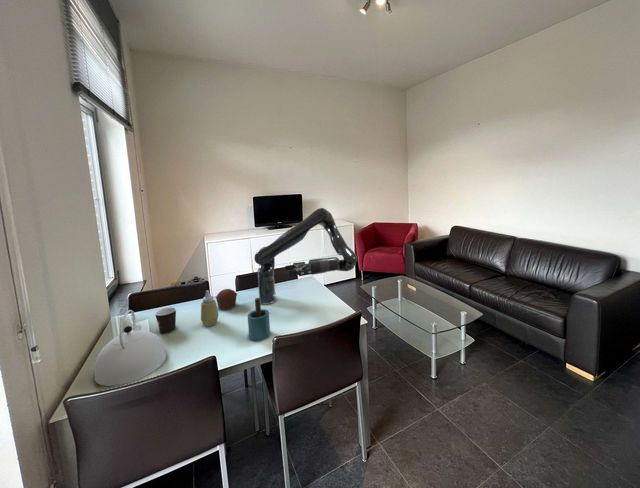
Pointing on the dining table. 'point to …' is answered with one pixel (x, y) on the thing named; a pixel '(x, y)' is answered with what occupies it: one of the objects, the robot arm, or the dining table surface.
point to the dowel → (258, 307)
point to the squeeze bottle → (209, 310)
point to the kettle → (129, 356)
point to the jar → (258, 325)
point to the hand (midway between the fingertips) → (286, 270)
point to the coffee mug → (166, 319)
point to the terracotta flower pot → (226, 299)
